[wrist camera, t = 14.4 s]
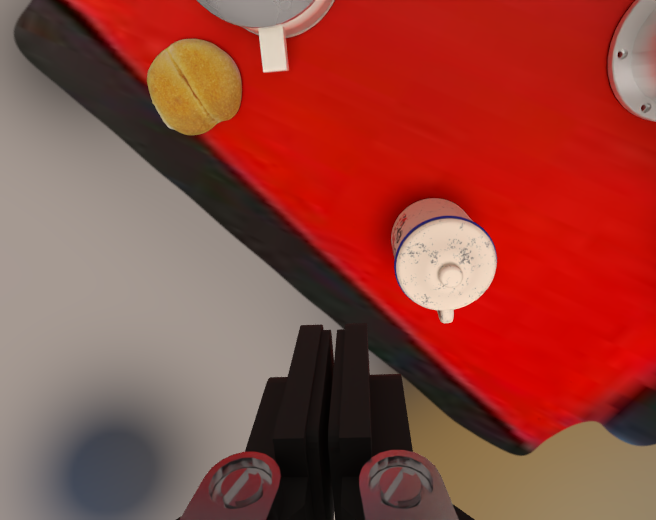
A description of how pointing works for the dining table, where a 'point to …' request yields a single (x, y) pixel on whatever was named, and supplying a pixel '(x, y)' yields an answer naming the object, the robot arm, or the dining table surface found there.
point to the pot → (287, 35)
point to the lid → (257, 11)
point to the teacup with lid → (441, 256)
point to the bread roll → (194, 86)
